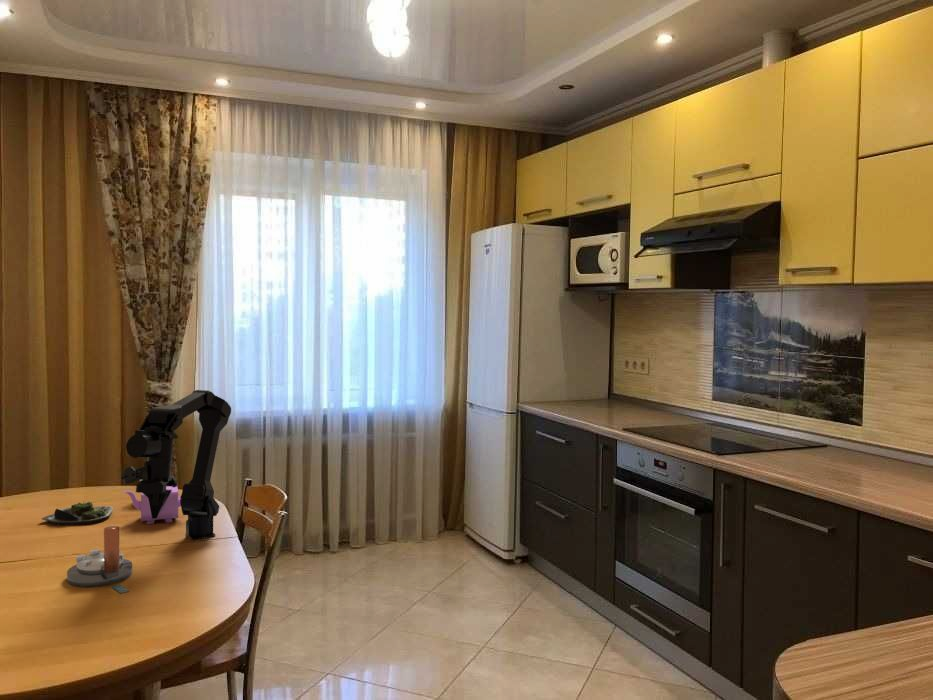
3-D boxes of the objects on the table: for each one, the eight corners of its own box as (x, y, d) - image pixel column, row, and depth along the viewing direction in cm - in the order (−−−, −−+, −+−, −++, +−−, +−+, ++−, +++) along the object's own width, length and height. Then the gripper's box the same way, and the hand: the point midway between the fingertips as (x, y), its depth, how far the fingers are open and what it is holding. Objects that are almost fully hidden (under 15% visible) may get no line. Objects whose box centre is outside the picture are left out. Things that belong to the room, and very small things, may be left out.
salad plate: (60, 509, 226) (59, 495, 226) (120, 507, 230) (120, 493, 230) (37, 527, 207) (36, 512, 207) (103, 525, 211) (103, 510, 211)
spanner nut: (71, 565, 172) (71, 517, 171) (115, 556, 178) (115, 510, 178) (90, 584, 160) (90, 534, 159) (136, 574, 167) (136, 525, 166)
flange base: (124, 561, 181) (124, 554, 181) (147, 587, 165) (147, 579, 165) (61, 573, 172) (61, 565, 172) (80, 602, 156) (79, 593, 156)
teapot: (155, 529, 207) (155, 493, 207) (122, 523, 213) (122, 487, 212) (194, 516, 221) (195, 482, 221) (163, 510, 227) (163, 477, 226)
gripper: (135, 454, 190) (130, 513, 189) (116, 457, 172) (110, 522, 170) (179, 455, 192) (174, 514, 191) (165, 459, 174) (159, 523, 173)
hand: (154, 518), depth 181 cm, fingers closed
